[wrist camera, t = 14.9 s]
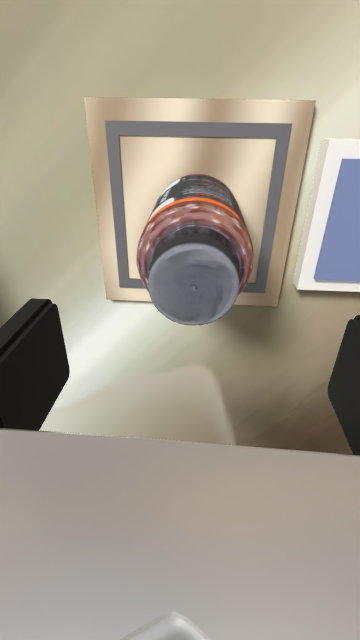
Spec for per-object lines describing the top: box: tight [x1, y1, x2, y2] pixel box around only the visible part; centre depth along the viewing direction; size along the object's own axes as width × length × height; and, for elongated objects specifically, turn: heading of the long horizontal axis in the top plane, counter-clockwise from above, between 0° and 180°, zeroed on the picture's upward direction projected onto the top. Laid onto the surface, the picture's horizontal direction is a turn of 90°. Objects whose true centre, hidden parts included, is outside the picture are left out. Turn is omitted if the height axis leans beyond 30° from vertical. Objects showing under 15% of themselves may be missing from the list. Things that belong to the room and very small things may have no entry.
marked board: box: [84, 97, 316, 306], centre depth 24 cm, size 14×14×1 cm
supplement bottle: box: [136, 174, 254, 325], centre depth 19 cm, size 6×6×11 cm
